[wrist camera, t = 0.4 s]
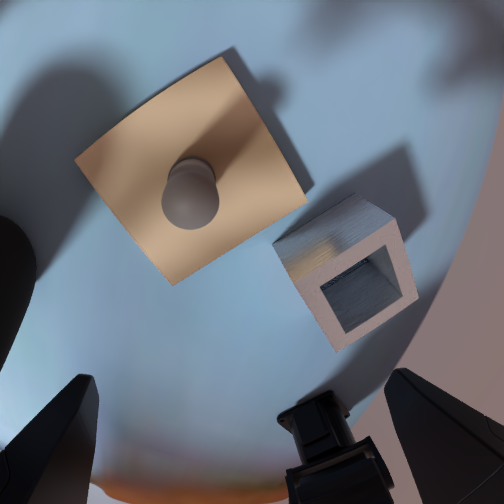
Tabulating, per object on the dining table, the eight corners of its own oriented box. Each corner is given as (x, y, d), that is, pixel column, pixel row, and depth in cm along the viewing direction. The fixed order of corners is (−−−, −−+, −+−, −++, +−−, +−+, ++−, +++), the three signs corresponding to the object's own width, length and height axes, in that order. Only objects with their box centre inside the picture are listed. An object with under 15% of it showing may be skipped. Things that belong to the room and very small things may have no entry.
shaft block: (303, 197, 20) (342, 232, 15) (173, 278, 21) (168, 336, 15) (220, 58, 15) (231, 35, 10) (79, 157, 16) (35, 179, 11)
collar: (383, 264, 23) (418, 298, 19) (312, 309, 24) (336, 352, 19) (354, 193, 20) (395, 218, 16) (271, 244, 21) (293, 283, 16)
